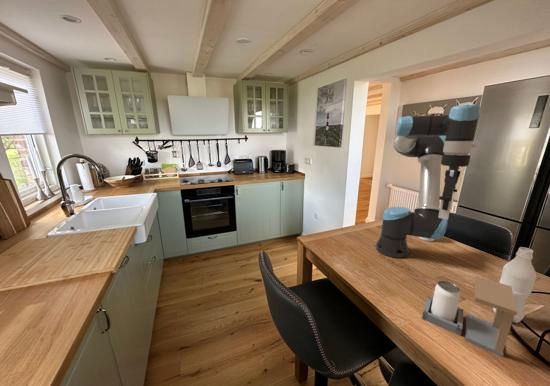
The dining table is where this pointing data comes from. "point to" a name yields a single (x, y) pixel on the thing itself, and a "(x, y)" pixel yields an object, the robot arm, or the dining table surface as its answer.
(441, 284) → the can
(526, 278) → the water bottle
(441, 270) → the dining table surface
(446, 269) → the dining table surface
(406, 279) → the dining table surface
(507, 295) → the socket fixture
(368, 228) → the dining table surface
